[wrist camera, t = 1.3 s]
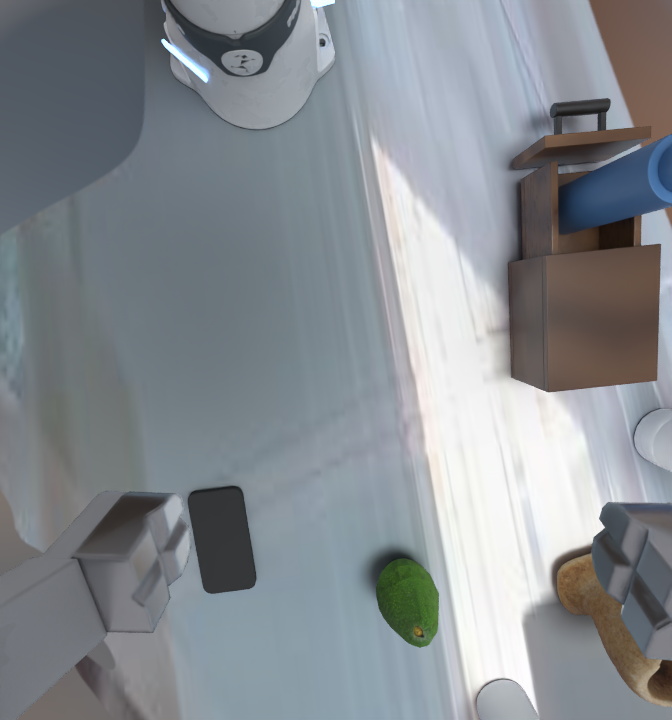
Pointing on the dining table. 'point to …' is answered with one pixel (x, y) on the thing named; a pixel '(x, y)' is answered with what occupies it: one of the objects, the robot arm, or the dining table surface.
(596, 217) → the bottle
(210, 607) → the dining table surface
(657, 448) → the bottle
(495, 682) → the pill bottle
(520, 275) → the cabinet
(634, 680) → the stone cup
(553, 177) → the drawer
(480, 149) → the dining table surface
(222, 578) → the phone
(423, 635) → the avocado
